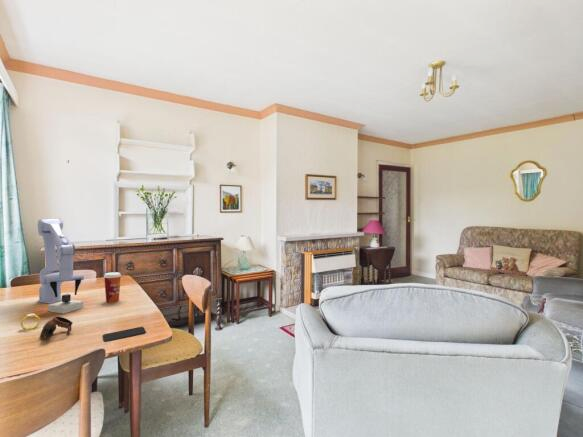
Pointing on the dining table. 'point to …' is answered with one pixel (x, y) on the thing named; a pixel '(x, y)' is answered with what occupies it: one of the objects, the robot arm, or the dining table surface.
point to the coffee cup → (112, 286)
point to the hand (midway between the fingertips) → (66, 295)
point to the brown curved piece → (51, 326)
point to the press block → (65, 306)
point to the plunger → (66, 298)
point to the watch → (30, 316)
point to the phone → (123, 334)
